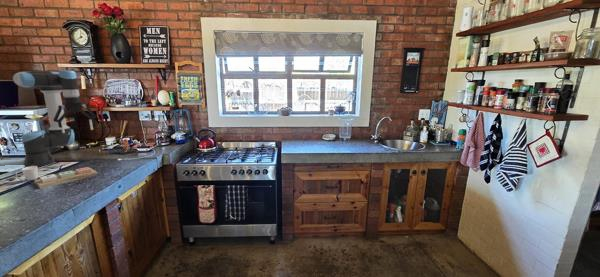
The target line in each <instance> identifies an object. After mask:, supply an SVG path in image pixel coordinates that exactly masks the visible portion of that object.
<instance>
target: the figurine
mask: <svg viewBox="0 0 600 277" xmlns="http://www.w3.org/2000/svg"><path fill="white" fill-rule="evenodd" d="M120 145H121V146H122V149H121V150H118V151H117V152H118V154H120V155H122V156H124V155H129V154H135V152H136V153H137V150H136V149H133V148H131V146H130V143H129V140H128V139H126V138H123V139H122V140H121V142H120Z"/></svg>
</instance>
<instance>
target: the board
mask: <svg viewBox="0 0 600 277" xmlns="http://www.w3.org/2000/svg"><path fill="white" fill-rule="evenodd" d="M89 168H90V169H91V172H88V173H84V174H80V175H79V174H77V173H76V170H74V171H73V170H72V171H73V172H74V173H75V176H71V177H66V178H62V179H61V178H60V177H59V174H55V175H56V176H57V180H53V181H49V182H44V183H42V182H41V181H40V178H37V179H34V180H33V182H34V184H35V185H36V186H37V187H38V188H39V189H40V190H41V189H45V188H49V187H53V186H57V185H62V184H65V183H71V182H74V181H79V180H82V179H87V178H90V177H96V176H98V175H99V174H98V171H96V169H93V168H91V167H89Z"/></svg>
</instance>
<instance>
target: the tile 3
mask: <svg viewBox="0 0 600 277" xmlns="http://www.w3.org/2000/svg"><path fill="white" fill-rule="evenodd" d="M90 168H91V167H89V166H86V167H80V168H76V169H75V171H76V173H77V174H79V175H80V174H84V173H88V172H91V169H92V168H91V169H90Z"/></svg>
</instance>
